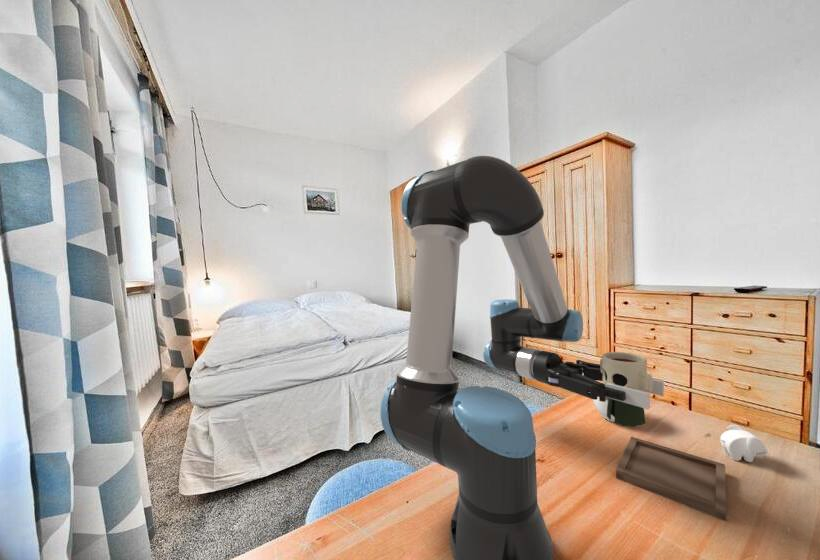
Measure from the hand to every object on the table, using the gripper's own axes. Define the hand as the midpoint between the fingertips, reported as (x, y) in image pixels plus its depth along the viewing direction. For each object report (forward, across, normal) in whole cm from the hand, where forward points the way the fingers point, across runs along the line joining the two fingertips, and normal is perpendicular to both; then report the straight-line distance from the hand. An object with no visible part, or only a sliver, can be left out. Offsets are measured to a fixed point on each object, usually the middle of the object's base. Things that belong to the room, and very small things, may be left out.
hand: (656, 394), depth 55 cm
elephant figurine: (+8, -24, -19) cm, 31 cm away
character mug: (-5, 0, -7) cm, 9 cm away
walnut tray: (0, -6, -18) cm, 19 cm away
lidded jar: (-16, -23, -19) cm, 34 cm away
